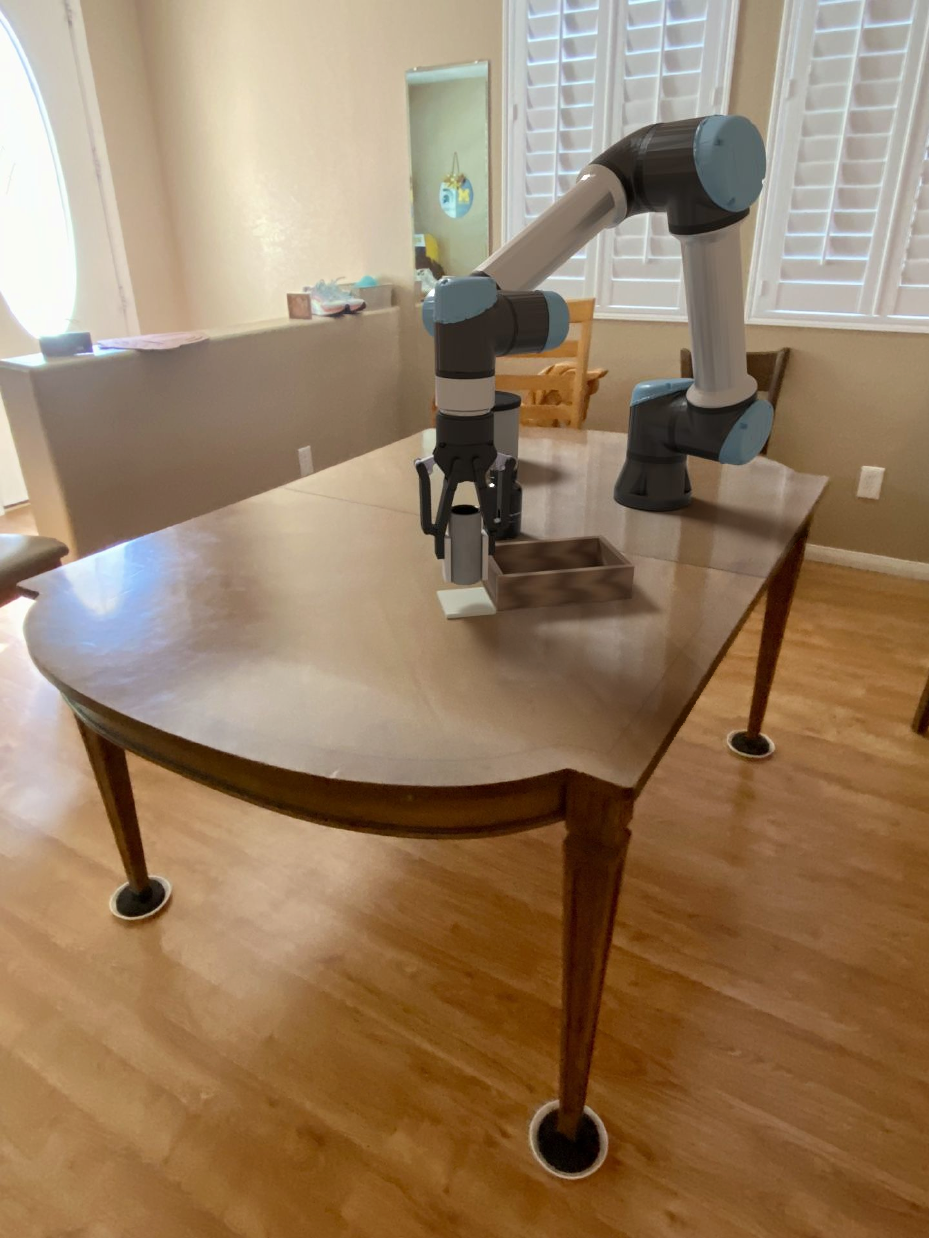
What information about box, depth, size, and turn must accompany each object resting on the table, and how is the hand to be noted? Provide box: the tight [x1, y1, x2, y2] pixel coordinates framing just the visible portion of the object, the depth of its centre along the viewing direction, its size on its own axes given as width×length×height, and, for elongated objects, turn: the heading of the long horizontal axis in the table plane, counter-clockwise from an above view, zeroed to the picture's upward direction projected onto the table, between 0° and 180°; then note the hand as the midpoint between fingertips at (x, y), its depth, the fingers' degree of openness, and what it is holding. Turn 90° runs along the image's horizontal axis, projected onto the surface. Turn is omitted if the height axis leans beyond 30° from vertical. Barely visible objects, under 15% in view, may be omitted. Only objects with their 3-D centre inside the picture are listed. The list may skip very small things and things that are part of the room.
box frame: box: [480, 534, 635, 611], centre depth 114 cm, size 20×13×5 cm, turn 101°
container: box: [438, 390, 522, 475], centre depth 174 cm, size 19×19×15 cm
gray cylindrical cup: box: [447, 503, 482, 586], centre depth 105 cm, size 4×4×10 cm
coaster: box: [436, 586, 497, 619], centre depth 109 cm, size 7×8×1 cm
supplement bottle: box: [482, 465, 524, 541], centre depth 133 cm, size 7×7×12 cm
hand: (464, 577), depth 108 cm, fingers closed on gray cylindrical cup, 4 cm apart
